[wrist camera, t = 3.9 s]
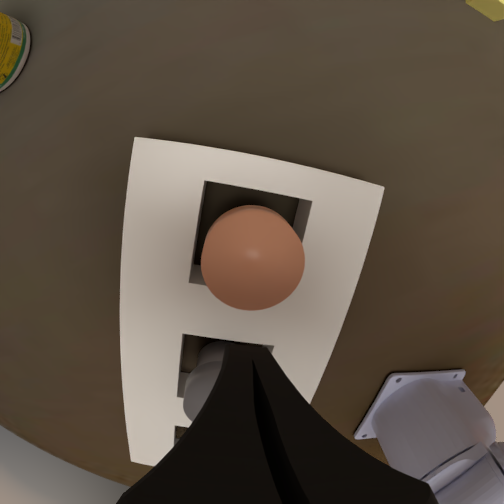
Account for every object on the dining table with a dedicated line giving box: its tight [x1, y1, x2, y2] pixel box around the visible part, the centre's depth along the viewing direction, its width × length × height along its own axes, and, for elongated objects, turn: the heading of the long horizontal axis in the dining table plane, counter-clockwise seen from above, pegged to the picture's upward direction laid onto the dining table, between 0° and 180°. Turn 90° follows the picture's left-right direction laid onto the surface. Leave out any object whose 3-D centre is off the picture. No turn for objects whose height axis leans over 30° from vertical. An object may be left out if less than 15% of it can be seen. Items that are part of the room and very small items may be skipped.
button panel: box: [120, 137, 385, 466], centre depth 18 cm, size 12×24×2 cm, turn 169°
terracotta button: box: [201, 205, 305, 311], centre depth 14 cm, size 4×4×4 cm
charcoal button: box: [183, 341, 234, 422], centre depth 16 cm, size 4×4×4 cm
